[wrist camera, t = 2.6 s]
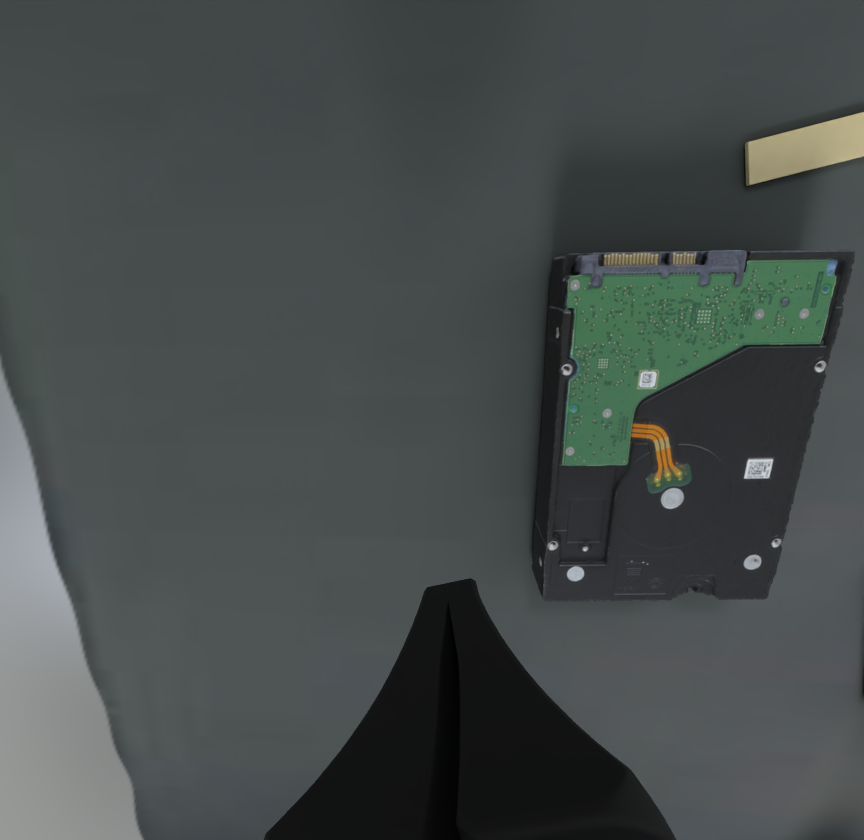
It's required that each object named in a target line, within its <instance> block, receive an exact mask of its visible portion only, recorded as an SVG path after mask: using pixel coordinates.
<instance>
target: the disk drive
mask: <svg viewBox="0 0 864 840" xmlns="http://www.w3.org/2000/svg"><path fill="white" fill-rule="evenodd" d="M854 257H855V252H854V251H852V250H800V251H799V250H794V251H745V250H711V251H682V252H681V251H673V252H660V251H658V252H606V253H598V252H593V253H567V254H563V255H558V256H556V257H555V258H554V260H553V263H552V265H553V270H552V277H551V286H550V301H549V309H548V324H547V344H546V359H545V376H544V391H543V406H542V423H541V438H540V455H539V473H538V489H537V504H536V516H535V525H534V542H533V549H534V550H533V556H532V557H533V564H532V570H533V572H534V576H535V579H536V581H537V584H538V588H539V590H540V593H541V596H542V598H543V600H545V601H550V602H554V601H589V600H594V601H596V600H598V601H599V600H603V601H606V600H610V601H618V600H629V601H644V600H650V601H667V600H672V598H675V597H677V596H678V595H682V594H683V593H687V592H688V587H690V588H692V590H693V591H694V592H697V593H704V594H706V595H714V596H715V597H716V598H717V599H718V600H742V599H751V600H753V599H757V600H759V599H766V598H767V597H768V594H769V589H770V586H771V584H772V581H773V578H774V576H775V574H776V570H777V565H778V562H779V558H780V554H781V549H782V548H781V542H782V541H783V539H784V534H785V532H786V527H787V524H788V521H789V513H790V510H791V505H792V504H793V499H794V495H795V490H796V488H797V483H798V480H799V476H800V470H801V468H802V463H803V458H804V454H805V452H806V446H807V442H808V440H809V438H810V433H811V431H810V430H811V427H812V424H813V422H814V414H815V412H816V409H817V406H818V404H819V402H818V400H819V398H820V394H821V392H820V390H821V389H822V387H823V384H824V380H825V377H826V375H825V369H826V367H827V365H828V361H829V358H830V353H831V348H832V347H833V345H834V342H835V339H836V335H837V330H838V327H839V325H840V319H841V317H842V312H843V304H842V303H843V301H844V299H843V297H844V295H845V294H846V290H847V286H848V284H849V281H850V277H851V272H852V265H853V263H854Z"/></svg>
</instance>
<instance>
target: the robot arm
mask: <svg viewBox="0 0 864 840" xmlns="http://www.w3.org/2000/svg"><path fill="white" fill-rule="evenodd" d="M264 840H676V838H675V837H674V835H673V833H672V831H671V829H670V827H669V826H668V824H667V822H666V820H665V819H664V817H663V816H662V814H661V812H660V811H659V809H658V808H657V806H656V805H655V803H654V802H653V800H652V799H651V797H650V796H649V794H648V793H647V791H646V790H645V789H644V787H643V786H642V784H641V783H640V782H639V780H638V779H637V778H636V776H635V775H634V773H633V772H632V771H631V770H630V769H629V768H628V767H627V766H626V765H624V764H623V763H622V762H620V761H619V760H618V759H617V758H615V757H614V756H613V755H612V754H610V753H609V752H608V751H607V750H606V749H604V748H603V747H602V746H601V745H599V744H598V743H597V742H596V741H595V740H594V739H593V738H591V737H590V736H589V735H588V734H587V733H586V732H585V731H584V730H582V729H581V728H580V727H579V726H578V725H577V724H576V723H575V722H574V721H573V720H572V719H571V718H570V717H569V716H568V715H567V714H566V713H565V712H564V711H563V710H562V709H561V708H560V707H559V706H558V705H557V704H556V703H555V702H554V701H553V700H552V699H551V698H550V697H549V696H548V695H547V694H546V693H545V692H544V691H543V690H542V688H541V687H540V686H539V685H538V684H537V683H536V682H535V680H534V679H533V678H532V677H531V676H530V674H529V673H528V672H527V671H526V670H525V668H524V667H523V666H522V665H521V663H520V662H519V661H518V659H517V658H516V657H515V655H514V654H513V652H512V651H511V650H510V648H509V647H508V645H507V644H506V643H505V641H504V639H503V638H502V636H501V635H500V633H499V632H498V630H497V628H496V627H495V625H494V623H493V622H492V620H491V618H490V617H489V615H488V613H487V611H486V609H485V607H484V605H483V603H482V601H481V598H480V596H479V593H478V589H477V585H476V581H474V580H473V579H471V578H470V579H465V580H460V581H455V582H450V583H446V584H441V585H436V586H431V587H427V588H426V590H425V591H424V594H423V597H422V600H421V603H420V606H419V609H418V612H417V615H416V617H415V620H414V622H413V625H412V627H411V630H410V632H409V634H408V637H407V639H406V641H405V644H404V646H403V648H402V650H401V653H400V655H399V657H398V659H397V661H396V663H395V665H394V667H393V668H392V670H391V672H390V674H389V676H388V678H387V680H386V682H385V684H384V686H383V687H382V689H381V691H380V693H379V694H378V696H377V698H376V699H375V701H374V703H373V704H372V706H371V707H370V709H369V711H368V712H367V714H366V715H365V717H364V718H363V720H362V721H361V723H360V724H359V726H358V727H357V728H356V730H355V731H354V733H353V734H352V736H351V737H350V739H349V740H348V741H347V743H346V744H345V745H344V747H343V748H342V749H341V751H340V752H339V753H338V754H337V756H336V757H335V758H334V759H333V761H332V762H331V763H330V764H329V766H328V767H327V768H326V769H325V771H324V772H323V773H322V774H321V775H320V777H319V778H318V779H317V780H316V781H315V783H314V784H313V785H312V786H311V787H310V788H309V789H308V790H307V792H306V793H305V794H304V795H303V796H302V797H301V798H300V799H299V800H298V801H297V802H296V803H295V804H294V805H293V806H292V807H291V808H290V809H289V811H288V812H287V813H286V814H285V815H284V816H283V817H282V818H281V819H280V820H279V821H278V822H277V823H276V824H275V825H274V826H273V827H272V828H271V829H270V830H269V831H268V832H267V833H266V835H265V838H264Z"/></svg>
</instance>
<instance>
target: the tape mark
mask: <svg viewBox="0 0 864 840" xmlns="http://www.w3.org/2000/svg"><path fill="white" fill-rule="evenodd" d="M863 156H864V112H861V113H857V114H854V115H850V116H846V117H842V118H838V119H834V120H831V121H827V122H823V123H819V124H815V125H811V126H808V127H804V128H800V129H796V130H792V131H788V132H784V133H781V134H777V135H773V136H769V137H765V138H761V139H758V140H754V141H750V142H747V143H745V166H746V186H749V185H753V184H757V183H761V182H764V181H768V180H772V179H776V178H780V177H784V176H788V175H792V174H796V173H800V172H804V171H808V170H812V169H816V168H820V167H824V166H827V165H831V164H835V163H839V162H843V161H847V160H851V159H855V158H859V157H863Z"/></svg>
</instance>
